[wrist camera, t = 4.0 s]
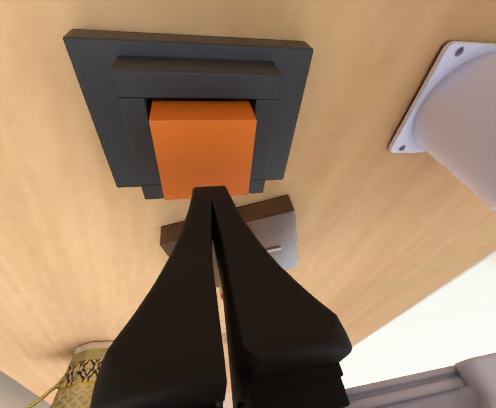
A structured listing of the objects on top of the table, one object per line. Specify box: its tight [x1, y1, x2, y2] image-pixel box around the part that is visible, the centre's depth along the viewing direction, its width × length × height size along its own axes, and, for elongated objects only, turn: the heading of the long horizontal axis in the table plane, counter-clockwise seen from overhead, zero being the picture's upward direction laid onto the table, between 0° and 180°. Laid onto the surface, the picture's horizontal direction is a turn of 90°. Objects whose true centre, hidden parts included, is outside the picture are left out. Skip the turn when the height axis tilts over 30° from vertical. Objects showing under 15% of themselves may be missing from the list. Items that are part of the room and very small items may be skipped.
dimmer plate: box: [160, 195, 298, 287], centre depth 26 cm, size 12×10×2 cm
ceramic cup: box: [26, 341, 113, 408], centre depth 37 cm, size 13×10×10 cm
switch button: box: [149, 101, 257, 200], centre depth 14 cm, size 5×5×2 cm
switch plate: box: [63, 29, 313, 199], centre depth 16 cm, size 12×9×4 cm
